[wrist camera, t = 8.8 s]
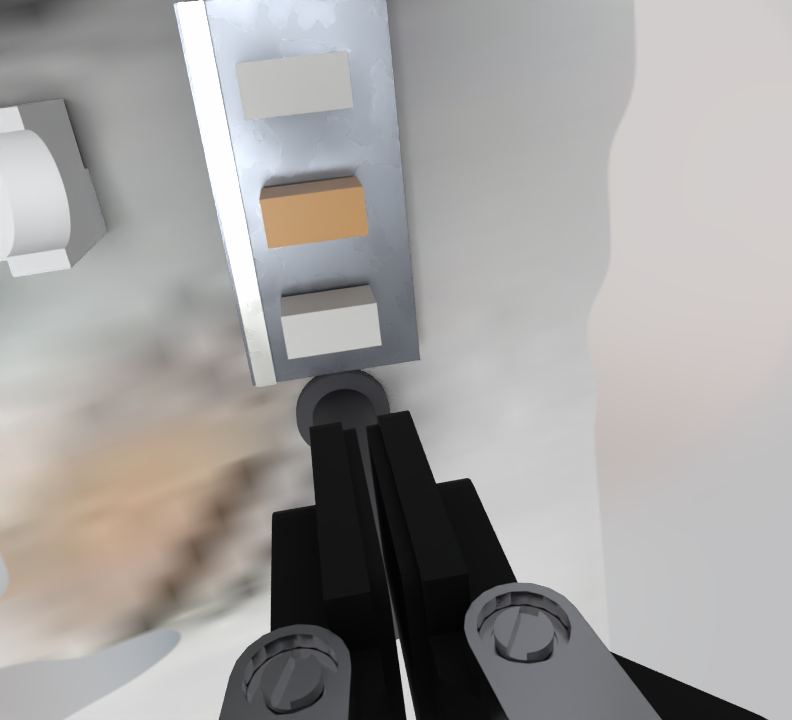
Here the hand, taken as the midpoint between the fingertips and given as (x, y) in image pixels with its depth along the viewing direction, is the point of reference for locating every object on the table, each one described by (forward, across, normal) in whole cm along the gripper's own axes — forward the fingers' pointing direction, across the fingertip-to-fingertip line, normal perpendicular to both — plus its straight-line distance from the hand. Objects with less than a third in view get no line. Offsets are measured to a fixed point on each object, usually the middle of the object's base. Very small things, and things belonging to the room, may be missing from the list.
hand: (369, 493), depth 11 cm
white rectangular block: (+27, 0, +7) cm, 28 cm away
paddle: (+27, 0, -5) cm, 28 cm away
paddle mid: (+27, 0, +1) cm, 27 cm away
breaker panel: (+30, 0, +1) cm, 30 cm away
